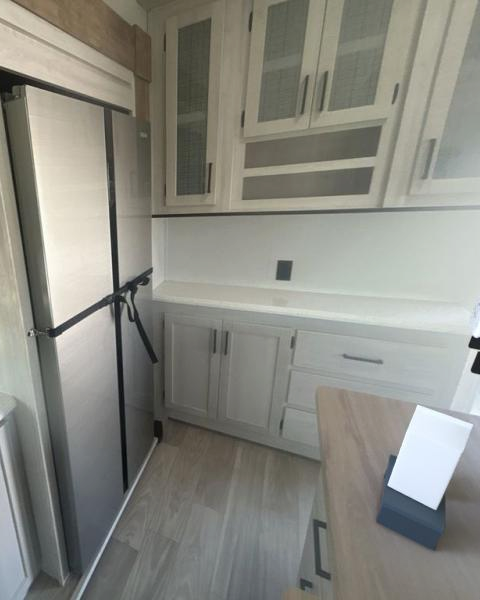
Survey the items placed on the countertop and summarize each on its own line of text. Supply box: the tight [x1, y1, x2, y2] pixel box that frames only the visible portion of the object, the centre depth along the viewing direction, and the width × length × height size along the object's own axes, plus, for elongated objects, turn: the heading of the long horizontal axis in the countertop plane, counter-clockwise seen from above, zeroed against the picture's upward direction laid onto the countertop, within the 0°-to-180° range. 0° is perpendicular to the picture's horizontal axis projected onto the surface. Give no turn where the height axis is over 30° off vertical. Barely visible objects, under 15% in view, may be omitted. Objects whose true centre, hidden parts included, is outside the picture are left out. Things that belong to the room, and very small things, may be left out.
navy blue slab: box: [376, 453, 446, 551], centre depth 68 cm, size 15×9×6 cm, turn 135°
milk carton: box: [388, 404, 475, 510], centre depth 63 cm, size 7×7×19 cm
